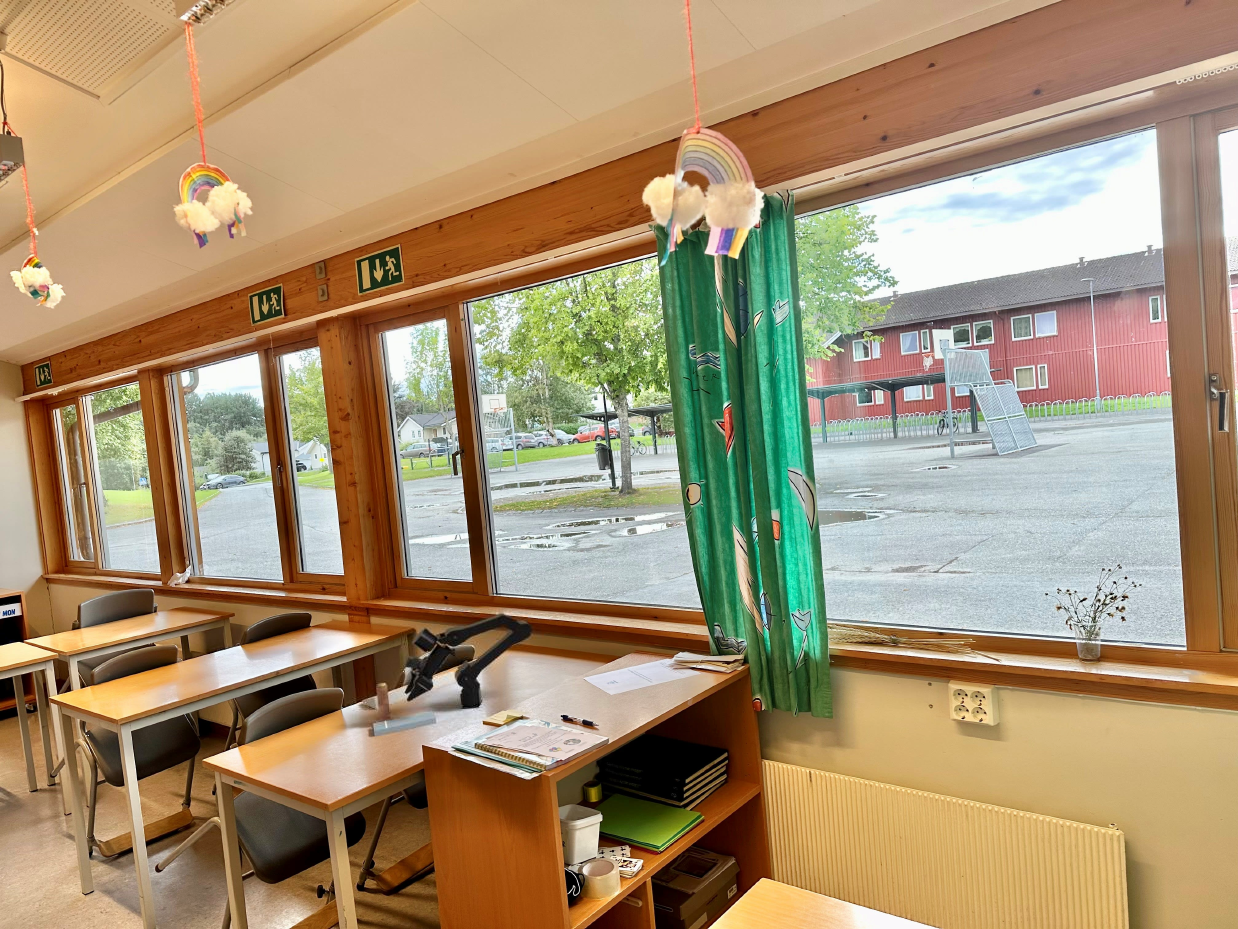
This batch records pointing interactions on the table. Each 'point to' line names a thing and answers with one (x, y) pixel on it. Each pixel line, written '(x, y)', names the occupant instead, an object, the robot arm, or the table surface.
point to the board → (404, 723)
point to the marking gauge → (383, 703)
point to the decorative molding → (400, 695)
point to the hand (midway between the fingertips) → (406, 697)
